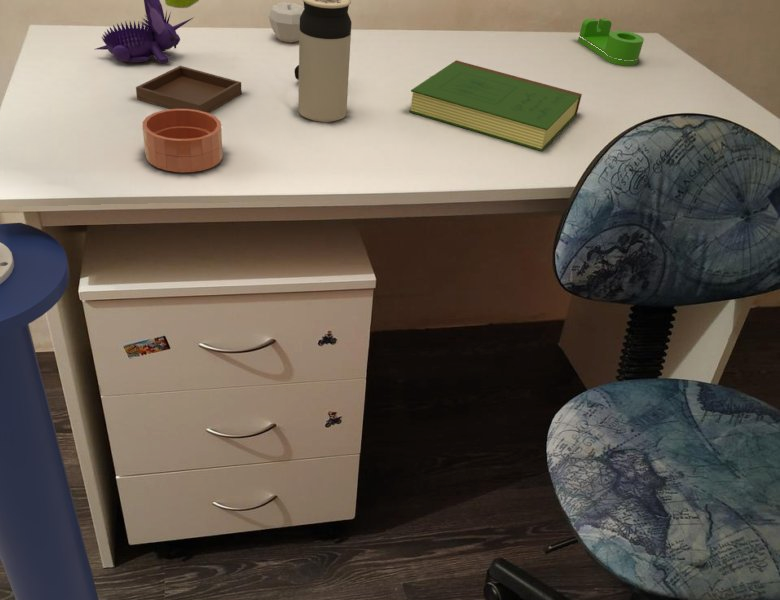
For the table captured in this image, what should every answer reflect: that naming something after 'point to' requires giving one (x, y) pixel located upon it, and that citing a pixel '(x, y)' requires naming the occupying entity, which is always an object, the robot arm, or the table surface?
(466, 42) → the table surface
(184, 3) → the vape
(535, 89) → the hardcover book
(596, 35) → the green stand
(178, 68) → the tray
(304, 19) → the travel mug
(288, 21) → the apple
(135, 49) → the creature
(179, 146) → the bowl
